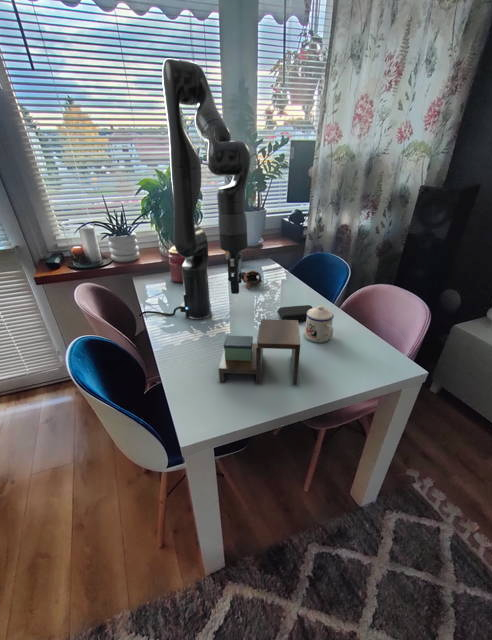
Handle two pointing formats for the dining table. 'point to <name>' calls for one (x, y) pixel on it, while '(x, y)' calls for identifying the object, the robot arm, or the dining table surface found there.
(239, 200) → the robot arm
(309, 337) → the teacup with lid
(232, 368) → the shelf riser
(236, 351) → the box
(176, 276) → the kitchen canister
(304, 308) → the carrying case
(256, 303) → the dining table surface
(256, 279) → the pottery mug
